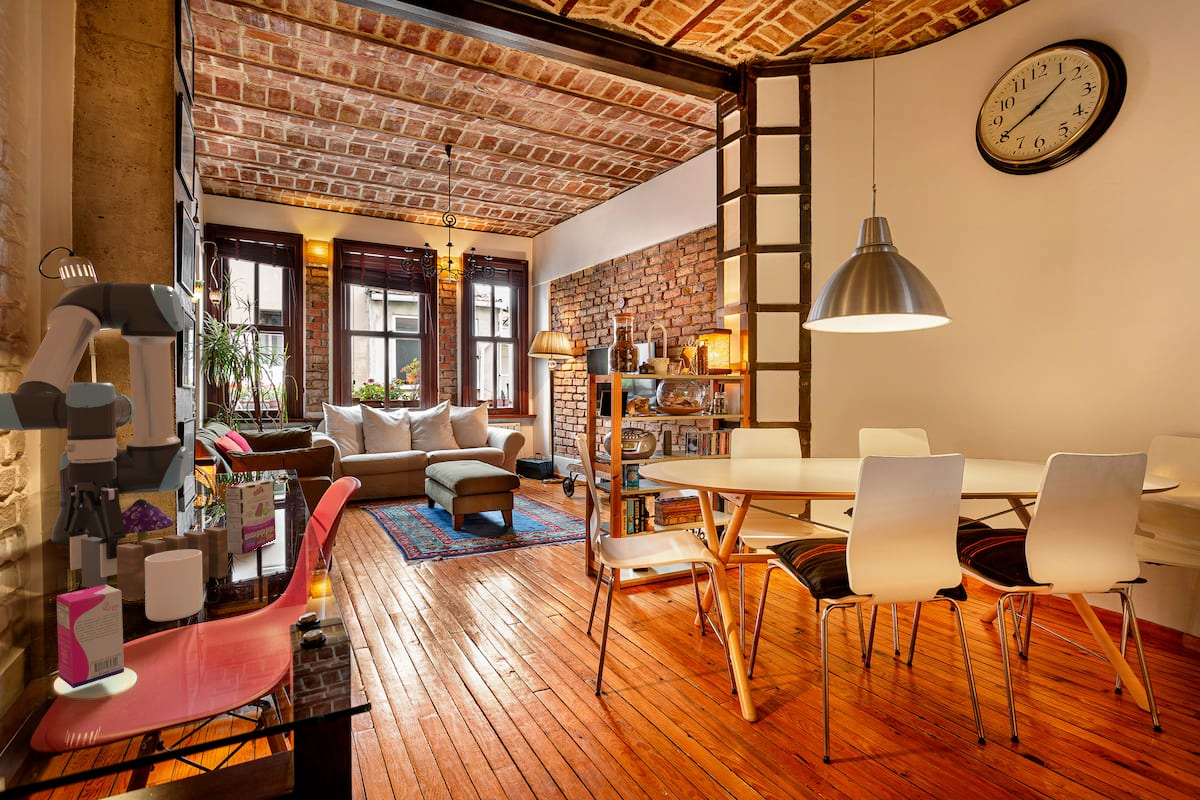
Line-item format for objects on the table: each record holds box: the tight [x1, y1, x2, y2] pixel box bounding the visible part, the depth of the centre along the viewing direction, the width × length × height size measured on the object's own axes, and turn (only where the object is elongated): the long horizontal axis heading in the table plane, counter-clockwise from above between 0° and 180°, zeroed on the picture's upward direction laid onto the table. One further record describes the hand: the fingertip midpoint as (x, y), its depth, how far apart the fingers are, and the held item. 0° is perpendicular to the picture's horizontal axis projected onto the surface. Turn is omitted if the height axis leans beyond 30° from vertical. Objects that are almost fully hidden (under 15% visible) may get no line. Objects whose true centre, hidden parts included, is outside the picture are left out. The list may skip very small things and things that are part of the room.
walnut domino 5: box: [202, 526, 229, 580], centre depth 131 cm, size 2×5×10 cm, turn 63°
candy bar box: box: [224, 479, 277, 555], centre depth 153 cm, size 11×5×16 cm, turn 168°
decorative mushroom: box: [122, 498, 176, 545], centre depth 140 cm, size 12×12×15 cm
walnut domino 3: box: [162, 534, 188, 552], centre depth 123 cm, size 2×5×10 cm, turn 63°
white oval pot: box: [144, 549, 204, 622], centre depth 110 cm, size 12×8×10 cm
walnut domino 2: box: [140, 538, 166, 592], centre depth 120 cm, size 2×5×10 cm, turn 63°
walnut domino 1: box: [116, 542, 145, 602], centre depth 116 cm, size 2×5×10 cm, turn 63°
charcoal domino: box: [81, 537, 108, 589], centre depth 122 cm, size 2×5×10 cm, turn 63°
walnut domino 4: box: [183, 530, 210, 584], centre depth 127 cm, size 2×5×10 cm, turn 63°
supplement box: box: [56, 584, 125, 689], centre depth 84 cm, size 6×6×12 cm
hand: (94, 571), depth 122 cm, fingers open, 11 cm apart
